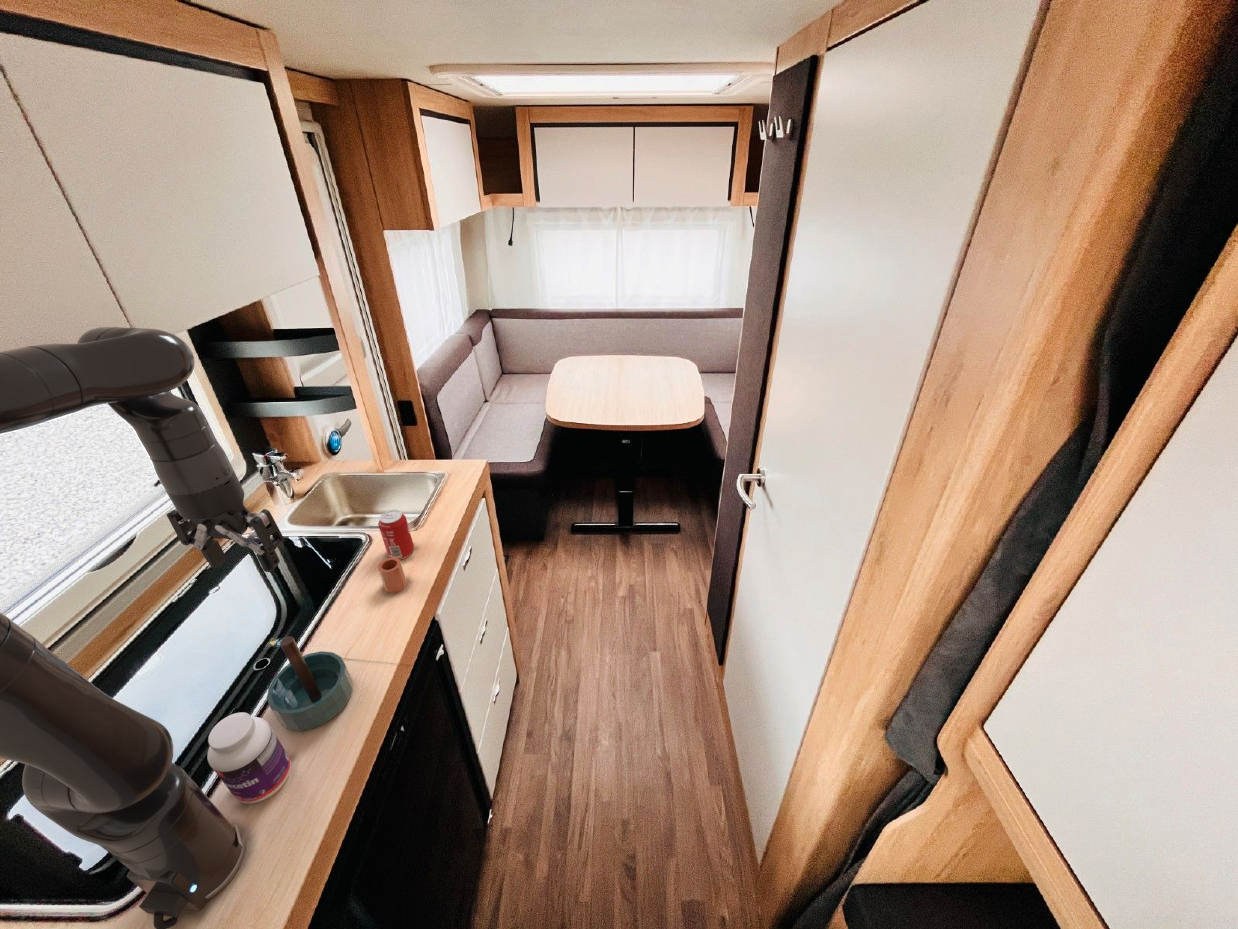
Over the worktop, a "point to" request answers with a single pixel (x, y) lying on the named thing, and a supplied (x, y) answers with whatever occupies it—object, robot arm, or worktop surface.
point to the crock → (392, 575)
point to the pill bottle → (248, 757)
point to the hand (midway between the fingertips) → (246, 566)
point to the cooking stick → (301, 668)
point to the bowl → (293, 699)
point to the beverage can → (396, 534)
